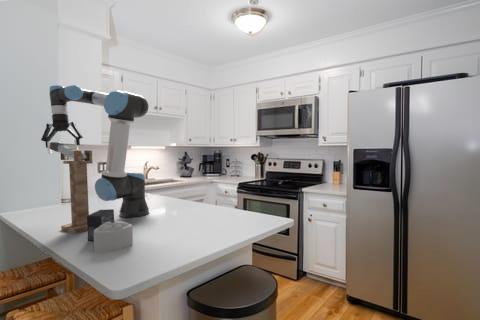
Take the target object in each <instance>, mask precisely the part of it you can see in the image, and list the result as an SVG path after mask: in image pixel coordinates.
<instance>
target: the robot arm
mask: <svg viewBox="0 0 480 320" xmlns="http://www.w3.org/2000/svg"><path fill="white" fill-rule="evenodd" d="M49 99H50V100H49V101H50V109H51V114H52V115H51V119H52V123H46V124H45V125H46V126H45V127H46V128H45V129H44V133H43V134H42V137H41V139H40V141H41V142H45V147H46V149H47V152H48V154H53V150H51V149H50V148H49V143H50V142H51V140H52V139H53V137H54V136H55V135H56V134H57V133H58V132H68V133H69V134H70V135H71V136H72V137H73V138H74V141H73V142H74V149H76V150H79V151H80V149H79V146H80V145H81V143H80V142H81V139H83V138H84V137H83V134H82V133H81V132H80V131H79V129H78V128H77V126H76V122H74V121H71V122H69V121H70V119H69V114H68V103H70V102H76V103H82V104H83V103H84V104H89V105H94V106H100V107H103V109H104V111H105V113H107V114H108V115H107V119H109V121H110V128H109V138H108V147H107V156H106V161H105V163H106V165H105V170H103V171H102V172H101V177H100V178H97V179H96V181H95V183H94V191H95V194H96V195H97V197H98V198H99V199H100V200H102V201H104V202H109V201H110V202H111V201H115V200H121V199H122V202H121V206H120V208H119V209H120V210H119V216H120V217H122V218H136V217H143V216H146V215H148V214H149V212H150V209H149V207H148V206H149V205H148V203H147V200H146V182H145V181H146V179H145V175H144V173H142V172H126V171H125V168H126V159H127V153H128V144H129V136H130V129H131V128H130V127H131V125H132V124H133V123H134V122H135V118H136V119H137V118H142V117H144V116H145V115H146V114H147V113H148V111H149V103H148V100H147V99H146V98H145V97H143V96H142V95H139V94H135V93H132V92H128V91H123V90H112V91H110V92H109V93H106V92H101V91H95V90H90V89H85V88H81V87H80V86H79V85H76V84H73V85H67V86H66V87H65V86H63V85H58V84H57V85H51V86H49ZM69 127H72V129H73V130H74V131H73V130H72V129H70V128H69ZM52 128H53V129H52ZM51 129H52V130H51ZM50 131H51V132H50ZM74 132H75V133H74Z"/></svg>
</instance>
